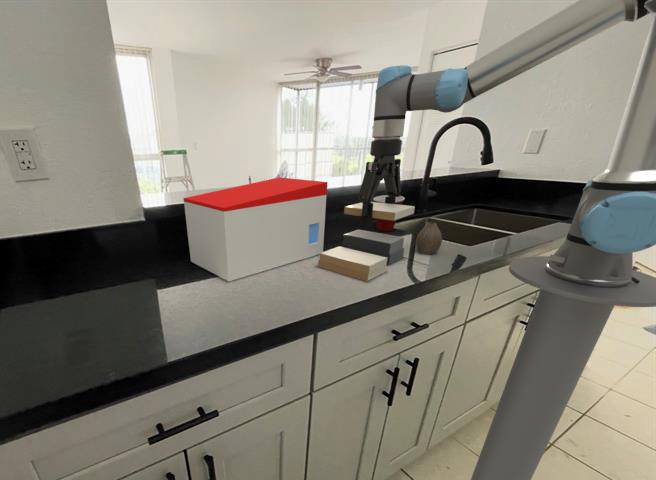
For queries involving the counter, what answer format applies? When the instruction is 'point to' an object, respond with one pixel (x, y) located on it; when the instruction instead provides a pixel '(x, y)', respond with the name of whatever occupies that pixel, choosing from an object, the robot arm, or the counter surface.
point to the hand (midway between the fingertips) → (377, 223)
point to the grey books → (375, 244)
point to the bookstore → (256, 226)
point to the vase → (429, 239)
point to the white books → (353, 263)
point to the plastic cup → (386, 224)
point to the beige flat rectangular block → (382, 210)
